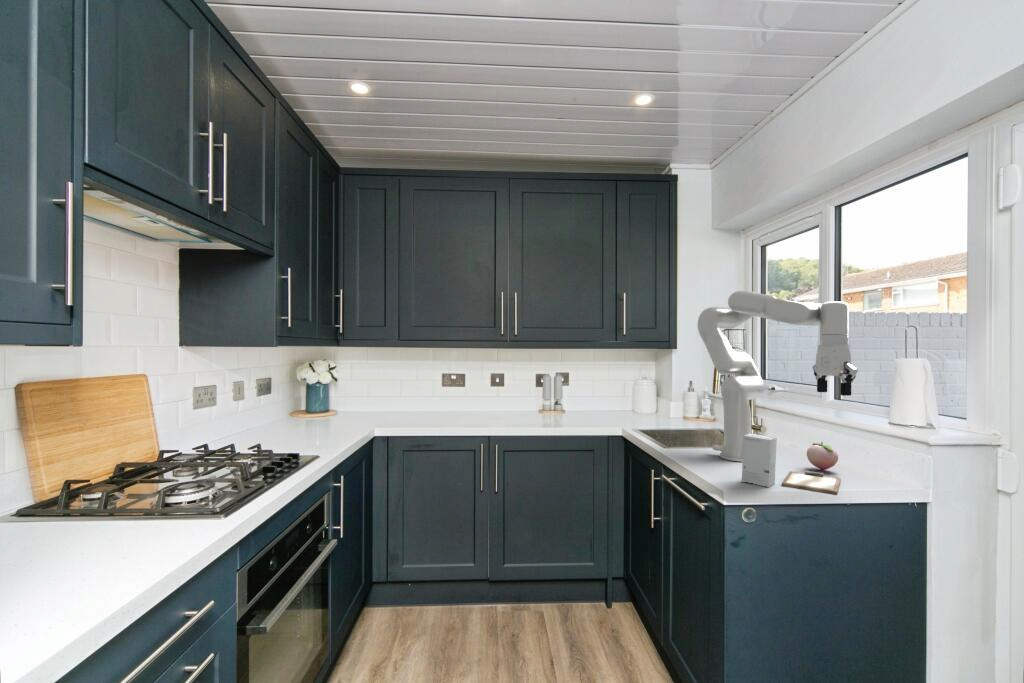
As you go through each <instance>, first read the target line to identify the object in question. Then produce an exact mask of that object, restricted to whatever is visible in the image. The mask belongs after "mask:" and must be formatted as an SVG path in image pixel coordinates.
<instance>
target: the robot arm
mask: <svg viewBox="0 0 1024 683" xmlns="http://www.w3.org/2000/svg"><path fill="white" fill-rule="evenodd" d="M727 299H728V300H727V305H728V307H724V306H723V307H722V306H712V307H707V308H705V309H703V310H702V311H701V312H700V314H699V317H698V318H697V331H698V334H699V336H700V338H701V339H702V342H703V344H704V345H705V348H706V350H707V353H708V355H709V358H710V359H711V362H712V364H713V366H714V368H715V370H716V372H717V373H719V374H720V375H723V376H725V375H726V376H728V377H727V378H725V379H724V380H723V381H722V383H721V386H720V393H721V399H722V404H723V405H722V406H723V444H721V445H719V444H712V450H713V451H720V453H719V457H720V458H721V459H724V460H727V461H733V462H741V463H743V441H744V435H747V434H752V409H751V406H750V403H749V401H750V400H757V399H759V398H761V397H762V396H763V394H764V392H765V384H764V381H763V378H762V376H761V375H760V372H759V370H758V368H757V366H756V364H755V362H754V360H753V358H752V357H751V356H750V355H749V354H748V352H745V351H741V350H734V349H733V348H732V346H731V344H730V342H729V339H728V337H727V336H726V335H725V334H724V333H723V332H722V331H721V329H734V328H737V327H739V326H741V325H742V324H744V323H746V322H747V321H749V320H750V319H752V318H753V317H758V318H762V319H766V320H771V321H776V322H779V323H780V322H781V323H785V324H789V325H796V326H810V327H811V326H812V327H814V326H819V344H818V345H817V349H816V356H815V363H814V364H813V365H812V368H811V369H812V371H813V375H814V377H815V380H816V392H817V393H827V392H828V379H827V378H828V376H830V377H838V378H839V379H840V381H841V382H840V385H839V388H840V390H839V391H840V392H839V395H840V396H843V397H846V396H847V397H848V396H850V397H851V395H852V383H854V380H855V378H856V376H857V373H858V372H859V370H858V369H857V367H855V366H854V365H853V364H852V354H851V348H850V344H849V305H848V302H845V301H826V302H823V303H814V302H805V301H804V302H802V301H801V302H800V301H793V300H788V299H781V298H777V297H776V296H775V295H772V294H765V293H759V292H756V291H750V290H749V291H748V290H738V291H734V292H732V293H731V294H730V296H729V297H728V298H727ZM730 375H731V376H730ZM732 375H733V376H732Z"/></svg>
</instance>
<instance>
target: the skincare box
mask: <svg viewBox="0 0 1024 683" xmlns="http://www.w3.org/2000/svg"><path fill="white" fill-rule="evenodd" d="M776 458H777V437H772V436H767V435H761V434H755V433H751V434H747V435H744V441H743V462H742V467H741V468H742V469H741V472H742V473H741V481H743V482H742V483H745V482H748V483H747V484H750V483H753V484H752V485H755V484H757V486H760V487H765V486H766V487H765V488H770V487H772V486H774V485H775V484H776V462H777V459H776ZM773 484H774V485H773ZM771 485H772V486H771Z"/></svg>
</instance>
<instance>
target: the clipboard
mask: <svg viewBox="0 0 1024 683" xmlns="http://www.w3.org/2000/svg"><path fill="white" fill-rule="evenodd" d="M824 475H825V474H824V472H818V471H817V472H816V471H809V470H805V471H804V473H803V472H797V471H791V470H790V471H789V472H788V473H787V475H786V476H785V477H784V479H783V480H782V482H781V486H782V485H783V486H784V487H788V486H789V488H794V487H795V489H801V490H802V489H803V490H807V491H813V492H820V493H826V494H831V495H838V492H839V489H838V488H840V485H841V478H837V477H831V476H824ZM783 486H782V487H783Z"/></svg>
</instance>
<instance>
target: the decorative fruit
mask: <svg viewBox="0 0 1024 683" xmlns="http://www.w3.org/2000/svg"><path fill="white" fill-rule="evenodd" d="M806 457H807V459H808V461H809V463H810V464H811V465H812V466H814V467H815V468H817V469H819V470H821V471H826V470H828V469H831V468H833V467H834V466H836V464H837V463H838V461H839V454H838V453H837V451H836V449H834V448H833V447H831V446H830V445H823V441H821V442H820V443H819V442H814V443H812V445H811V446H809V447H808V449H807V450H806Z"/></svg>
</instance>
